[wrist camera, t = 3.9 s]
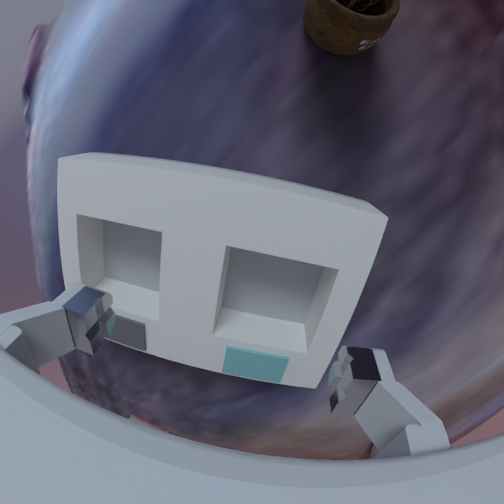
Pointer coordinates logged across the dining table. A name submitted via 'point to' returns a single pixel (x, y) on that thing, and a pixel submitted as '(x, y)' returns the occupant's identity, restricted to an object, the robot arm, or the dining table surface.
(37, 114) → the dining table surface
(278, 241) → the socket box
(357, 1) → the utensil holder
